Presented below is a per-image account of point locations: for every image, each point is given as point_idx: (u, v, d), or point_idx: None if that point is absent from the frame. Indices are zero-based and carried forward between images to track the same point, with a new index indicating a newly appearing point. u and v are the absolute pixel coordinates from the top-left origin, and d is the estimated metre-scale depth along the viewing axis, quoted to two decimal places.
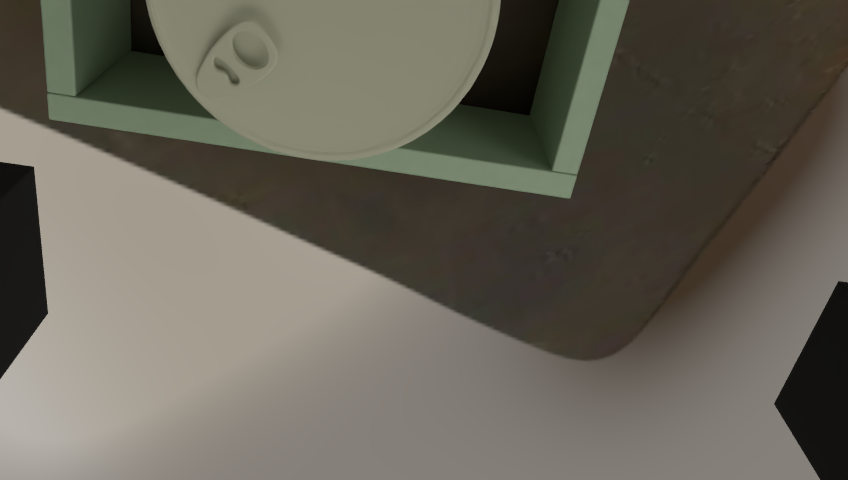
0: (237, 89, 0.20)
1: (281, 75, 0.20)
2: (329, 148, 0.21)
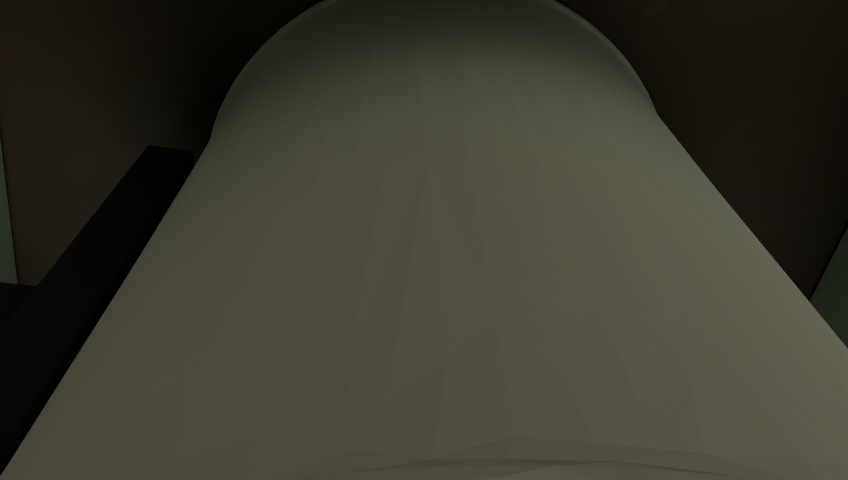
0: None
1: None
2: None
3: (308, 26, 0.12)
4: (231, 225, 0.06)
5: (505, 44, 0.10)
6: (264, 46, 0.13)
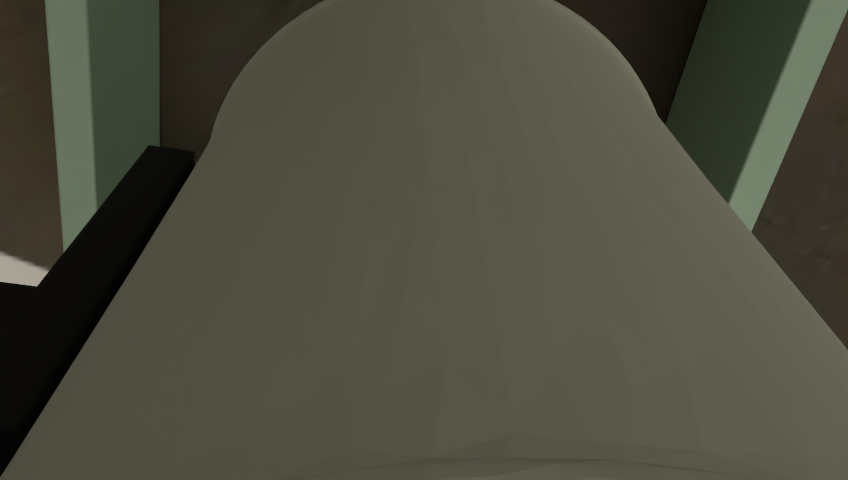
0: None
1: None
2: None
3: (308, 26, 0.12)
4: (230, 225, 0.06)
5: (505, 44, 0.10)
6: (264, 46, 0.13)
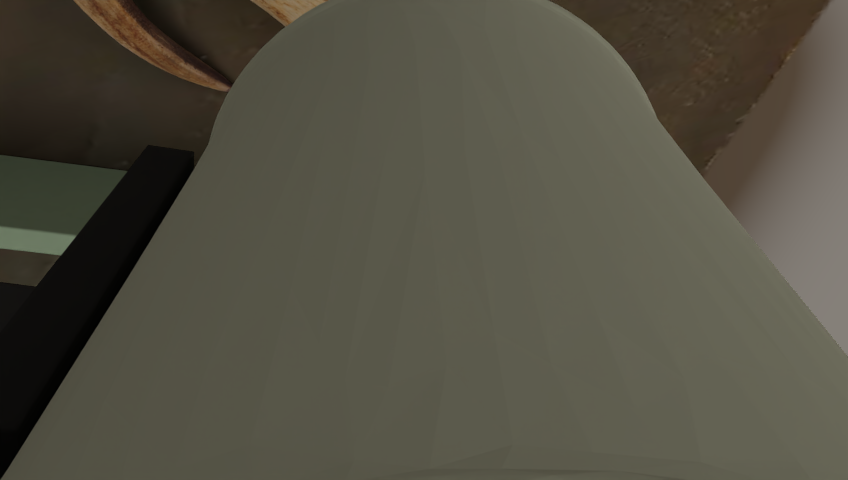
0: None
1: None
2: None
3: (307, 29, 0.12)
4: (229, 231, 0.06)
5: (504, 48, 0.10)
6: (263, 49, 0.13)
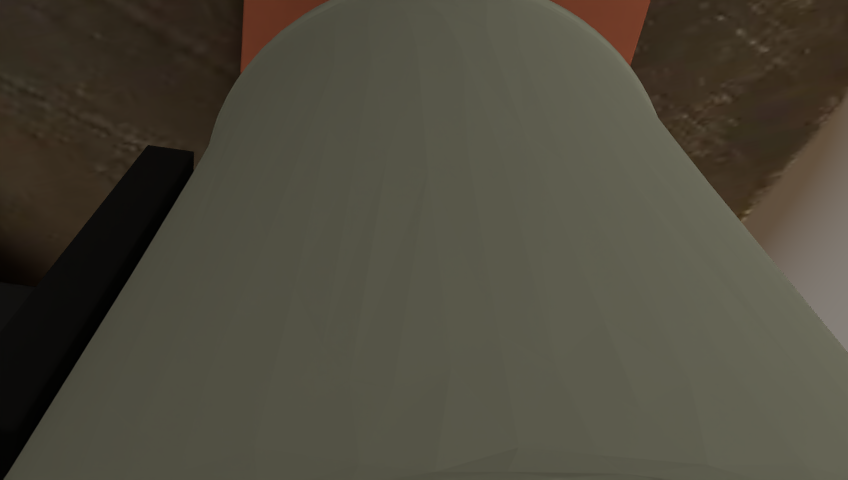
0: None
1: None
2: None
3: (308, 29, 0.12)
4: (231, 231, 0.06)
5: (506, 48, 0.10)
6: (264, 49, 0.13)
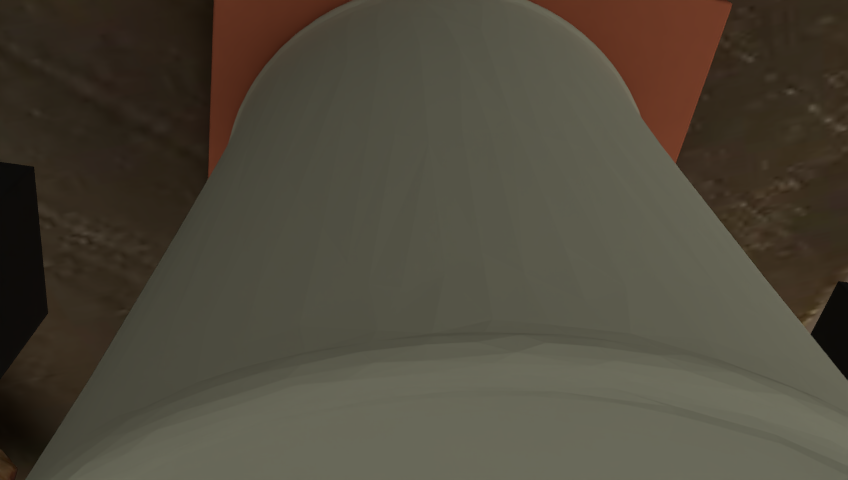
0: None
1: None
2: None
3: (322, 31, 0.14)
4: (267, 191, 0.08)
5: (498, 46, 0.11)
6: (281, 49, 0.15)
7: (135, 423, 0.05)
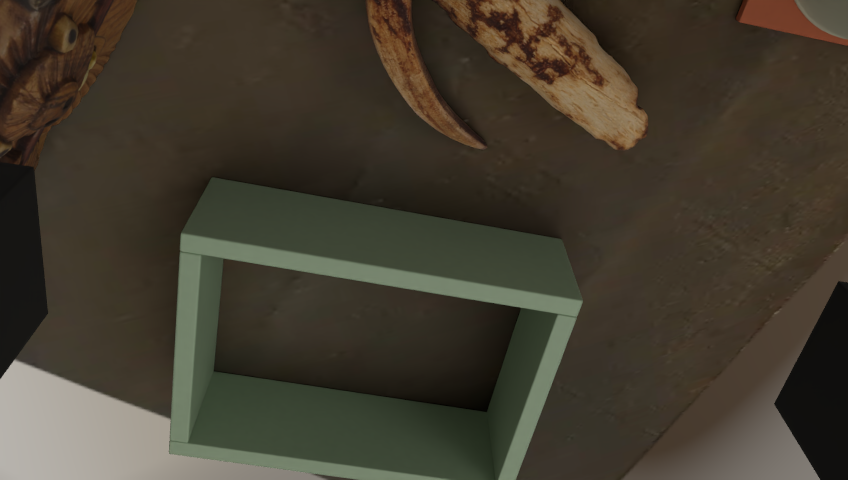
0: None
1: None
2: None
3: None
4: None
5: None
6: None
7: None
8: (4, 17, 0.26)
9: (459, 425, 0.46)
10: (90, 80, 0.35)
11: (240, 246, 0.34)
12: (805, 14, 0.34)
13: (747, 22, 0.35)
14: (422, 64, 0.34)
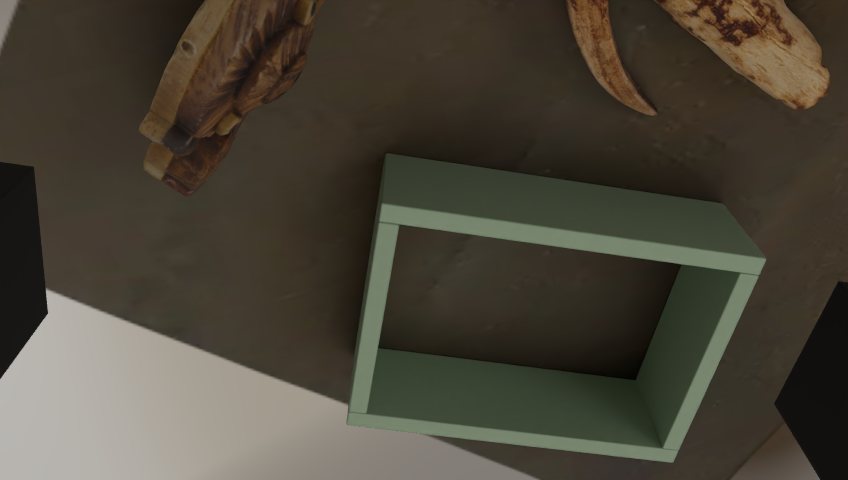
0: None
1: None
2: None
3: None
4: None
5: None
6: None
7: None
8: None
9: (613, 393, 0.46)
10: None
11: (438, 214, 0.35)
12: None
13: None
14: (612, 31, 0.35)
